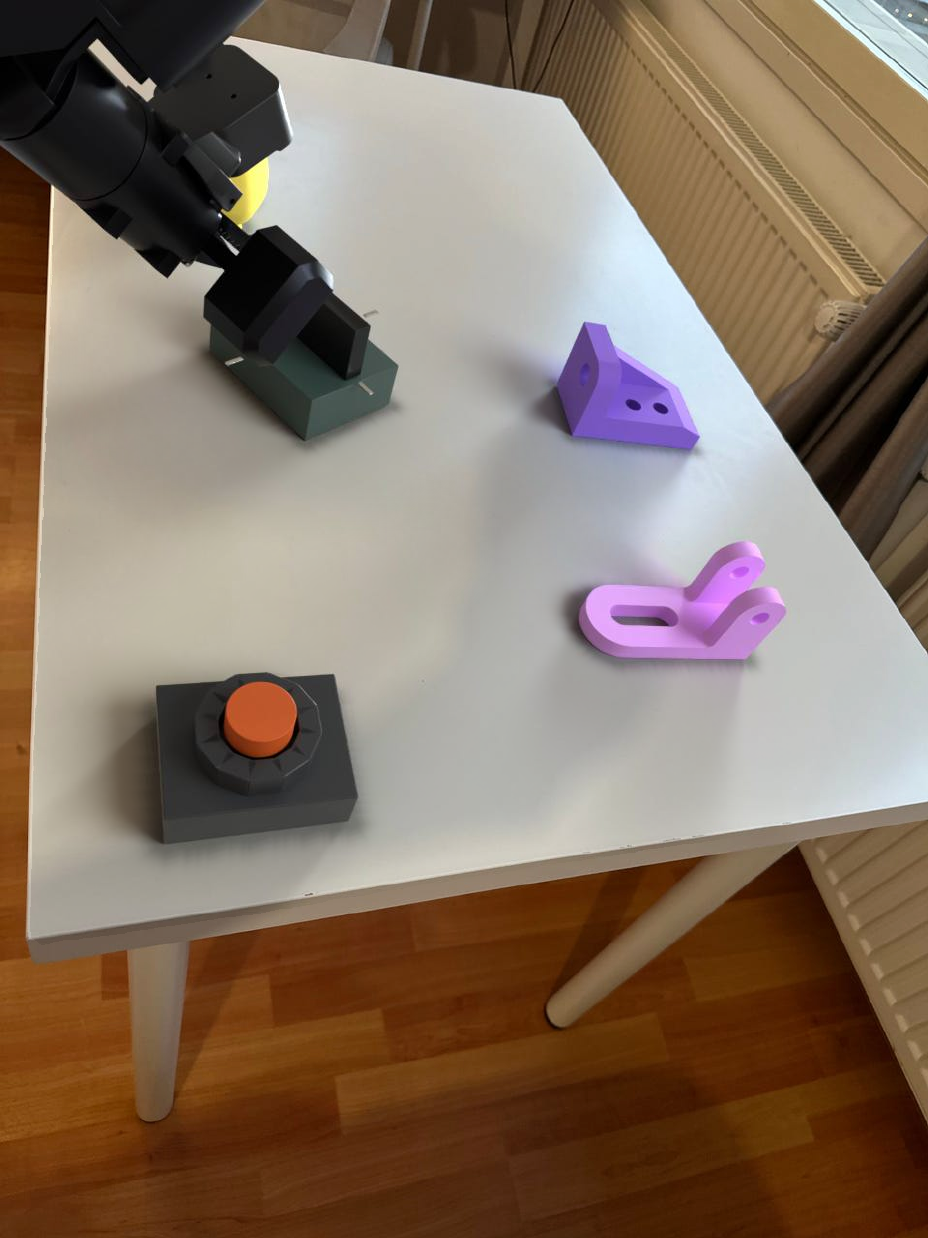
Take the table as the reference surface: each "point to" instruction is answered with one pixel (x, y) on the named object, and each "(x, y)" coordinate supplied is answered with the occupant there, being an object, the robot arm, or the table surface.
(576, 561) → the table surface
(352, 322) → the black bar
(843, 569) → the table surface
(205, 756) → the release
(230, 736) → the release button
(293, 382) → the dark green flat block
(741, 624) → the bracket
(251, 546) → the table surface
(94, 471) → the table surface
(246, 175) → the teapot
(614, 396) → the bracket
